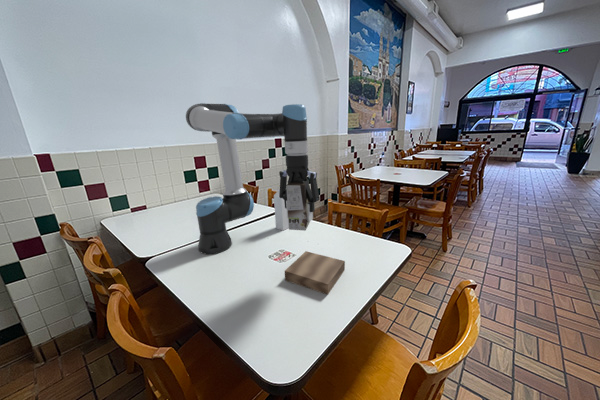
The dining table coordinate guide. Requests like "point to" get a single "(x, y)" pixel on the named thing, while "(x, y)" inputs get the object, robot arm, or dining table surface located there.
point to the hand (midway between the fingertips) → (299, 218)
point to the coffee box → (297, 206)
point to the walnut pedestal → (315, 271)
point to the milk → (280, 212)
